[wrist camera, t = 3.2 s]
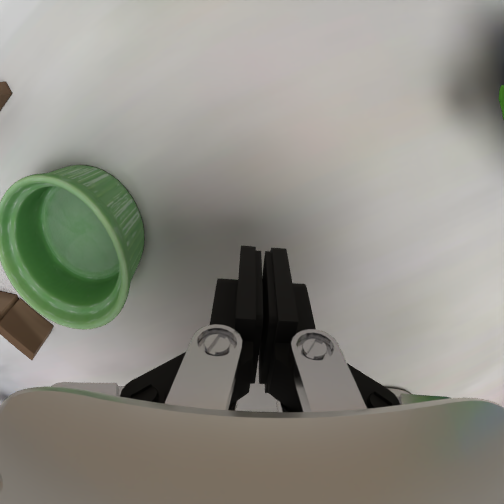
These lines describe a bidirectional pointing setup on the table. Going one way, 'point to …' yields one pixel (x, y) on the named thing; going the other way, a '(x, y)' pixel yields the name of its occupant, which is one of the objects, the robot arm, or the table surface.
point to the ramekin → (71, 244)
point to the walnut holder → (20, 304)
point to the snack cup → (501, 98)
